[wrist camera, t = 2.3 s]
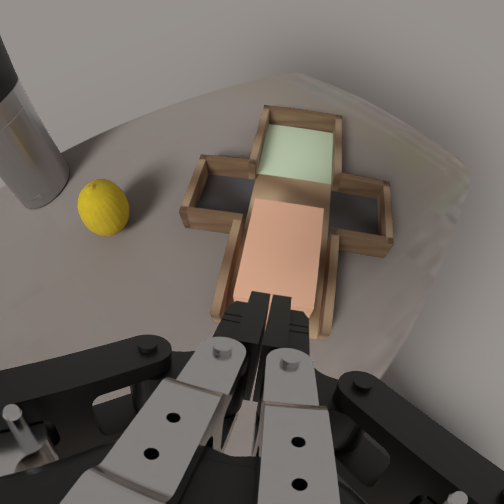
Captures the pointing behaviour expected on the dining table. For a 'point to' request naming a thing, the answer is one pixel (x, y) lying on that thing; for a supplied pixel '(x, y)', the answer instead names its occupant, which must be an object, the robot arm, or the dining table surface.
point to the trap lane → (296, 192)
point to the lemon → (103, 207)
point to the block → (281, 253)
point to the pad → (297, 154)
